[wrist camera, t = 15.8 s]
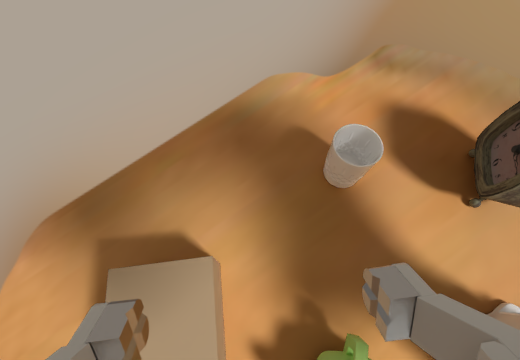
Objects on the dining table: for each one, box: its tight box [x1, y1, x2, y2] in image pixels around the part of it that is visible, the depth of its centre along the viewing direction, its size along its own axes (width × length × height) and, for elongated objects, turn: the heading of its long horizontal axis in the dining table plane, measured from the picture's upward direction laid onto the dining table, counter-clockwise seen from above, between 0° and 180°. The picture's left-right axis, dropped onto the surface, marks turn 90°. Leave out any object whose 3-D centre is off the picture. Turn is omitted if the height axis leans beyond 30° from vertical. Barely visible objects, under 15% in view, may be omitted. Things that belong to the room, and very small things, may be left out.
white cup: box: [323, 124, 384, 188], centre depth 47 cm, size 8×8×10 cm
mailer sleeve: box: [105, 256, 226, 360], centre depth 37 cm, size 18×14×8 cm
